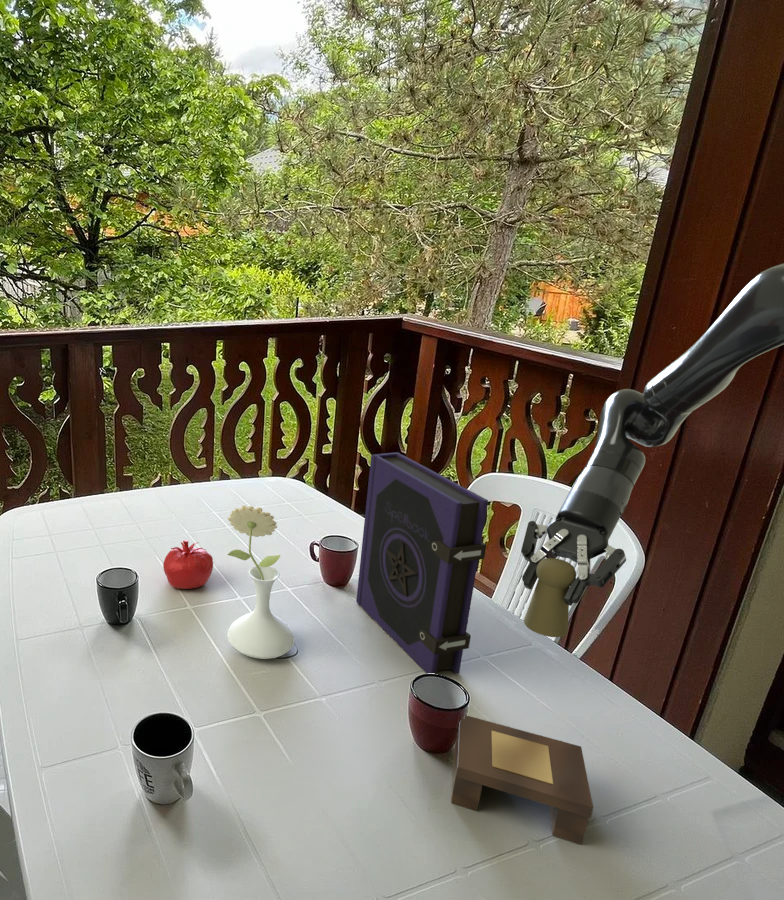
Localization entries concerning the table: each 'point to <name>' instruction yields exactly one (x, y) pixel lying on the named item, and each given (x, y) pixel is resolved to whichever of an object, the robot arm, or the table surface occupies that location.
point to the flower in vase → (259, 594)
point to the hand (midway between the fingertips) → (547, 594)
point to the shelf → (523, 772)
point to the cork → (550, 598)
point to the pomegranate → (188, 566)
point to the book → (420, 559)
